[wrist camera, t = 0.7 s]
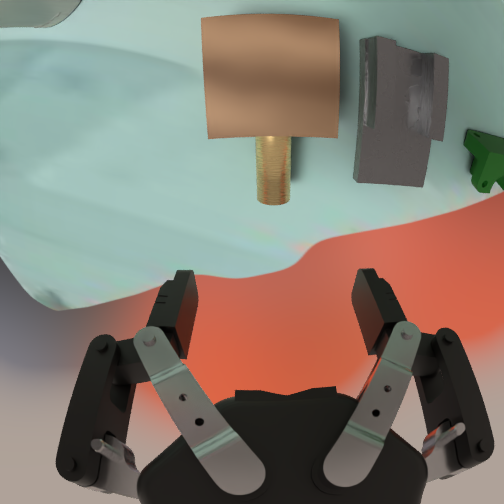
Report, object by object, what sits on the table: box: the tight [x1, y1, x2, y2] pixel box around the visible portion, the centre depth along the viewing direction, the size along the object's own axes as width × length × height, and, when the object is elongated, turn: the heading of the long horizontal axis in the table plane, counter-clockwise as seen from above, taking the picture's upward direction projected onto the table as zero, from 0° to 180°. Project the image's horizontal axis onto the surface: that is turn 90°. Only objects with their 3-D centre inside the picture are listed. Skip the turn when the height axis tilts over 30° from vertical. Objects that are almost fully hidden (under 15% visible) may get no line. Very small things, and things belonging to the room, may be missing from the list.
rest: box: [353, 36, 449, 187], centre depth 22 cm, size 16×9×4 cm, turn 2°
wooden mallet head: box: [201, 14, 340, 139], centre depth 20 cm, size 10×10×8 cm
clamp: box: [464, 130, 504, 193], centre depth 23 cm, size 12×6×9 cm, turn 89°
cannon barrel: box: [256, 136, 291, 205], centre depth 22 cm, size 16×3×3 cm, turn 2°
